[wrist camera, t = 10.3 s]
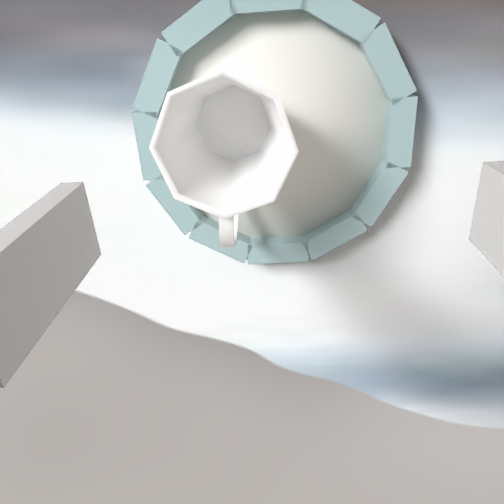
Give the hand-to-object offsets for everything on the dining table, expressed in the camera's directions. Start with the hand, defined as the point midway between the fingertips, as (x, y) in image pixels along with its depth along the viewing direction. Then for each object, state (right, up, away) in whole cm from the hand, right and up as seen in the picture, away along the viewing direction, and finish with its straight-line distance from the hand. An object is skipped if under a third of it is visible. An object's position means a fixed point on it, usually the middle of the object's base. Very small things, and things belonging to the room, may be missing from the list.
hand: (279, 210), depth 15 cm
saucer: (0, +6, +14) cm, 15 cm away
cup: (-2, +6, +14) cm, 15 cm away
